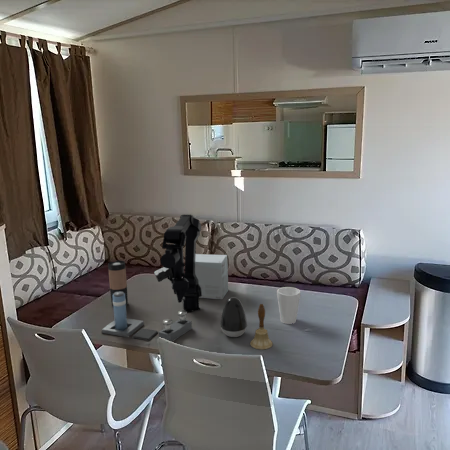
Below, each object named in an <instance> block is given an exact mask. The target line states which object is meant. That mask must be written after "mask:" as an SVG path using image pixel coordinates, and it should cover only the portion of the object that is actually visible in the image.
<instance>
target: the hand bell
mask: <svg viewBox="0 0 450 450" xmlns="http://www.w3.org/2000/svg"><path fill="white" fill-rule="evenodd" d="M257 316H258V320H259V323H258V324H259V325H258V326H259V327H258V329H257V328H256V329H255V333H254V337H253V339H252V340H251V341H250V343H249V344H250V346H251V347H252V348H254V349H256V350H260V351H261V350H262V351H263V350H268V349H271V348H272V347H273V342H272V340H271V339H270V337H269V332H268V329H266V328H265V324H264V323H265V322H264V321H265V317H266V309H265V306H264V303H259V307H258V309H257Z"/></svg>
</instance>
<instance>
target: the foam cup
mask: <svg viewBox="0 0 450 450" xmlns="http://www.w3.org/2000/svg"><path fill="white" fill-rule="evenodd" d="M276 297H277V302H278V311H279V319H280V323H283V324H285V325H293V324H295V323H296V322H297V318H298V312H299V306H300V305H299V304H300V299H301V290H300V289H299V288H296V287H293V286H285V287H280V288H278V289H277V290H276ZM292 323H293V324H292Z"/></svg>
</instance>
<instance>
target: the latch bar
mask: <svg viewBox="0 0 450 450" xmlns="http://www.w3.org/2000/svg"><path fill="white" fill-rule="evenodd" d="M192 324H193V322H192V320H188V319H186V323H184V324H180V323H179V319H177V320H175V321H174V322H172V324H171V332H170V333H165V330H164V328H163V329H161V330H159V331H158V333H157V334H158V338H159V337H161V338H165V339H167V340H169V341H172V342H174V341H175V340H177V339H178V338H180V337H181V336H183V335H184V334H186V333H188V332H189V331H191V330H192V329H193V325H192Z"/></svg>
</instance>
